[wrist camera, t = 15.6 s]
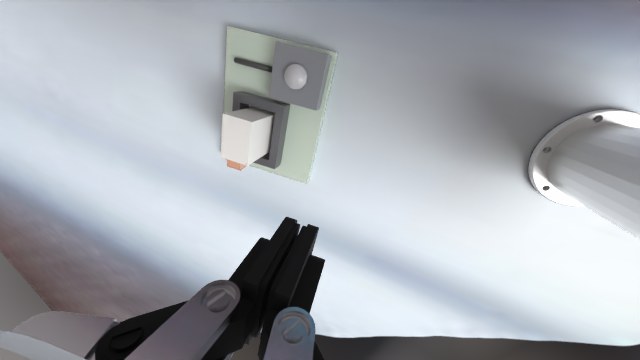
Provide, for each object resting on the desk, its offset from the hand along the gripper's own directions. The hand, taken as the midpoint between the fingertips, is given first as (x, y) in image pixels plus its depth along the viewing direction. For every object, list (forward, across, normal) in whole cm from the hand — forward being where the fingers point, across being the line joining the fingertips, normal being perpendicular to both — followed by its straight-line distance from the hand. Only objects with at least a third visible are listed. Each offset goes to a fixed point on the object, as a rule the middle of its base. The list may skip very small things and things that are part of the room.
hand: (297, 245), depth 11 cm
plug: (+26, +14, +3) cm, 29 cm away
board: (+27, +13, 0) cm, 30 cm away
